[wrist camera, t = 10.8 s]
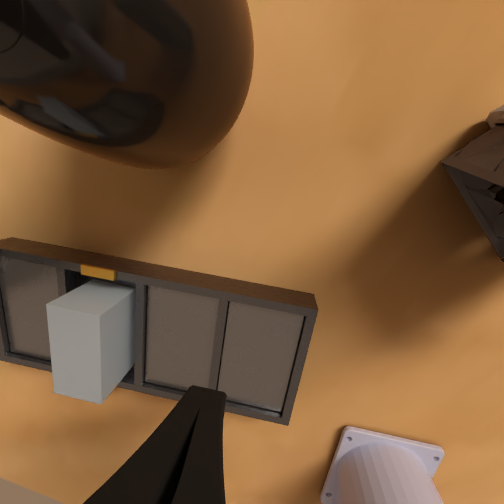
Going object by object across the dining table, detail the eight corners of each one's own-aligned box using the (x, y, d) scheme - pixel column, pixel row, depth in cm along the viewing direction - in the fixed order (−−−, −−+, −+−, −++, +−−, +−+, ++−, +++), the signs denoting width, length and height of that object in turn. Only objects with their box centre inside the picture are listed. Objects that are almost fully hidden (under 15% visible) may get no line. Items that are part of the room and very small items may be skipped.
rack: (287, 400, 21) (288, 428, 19) (27, 343, 23) (-3, 362, 20) (314, 293, 18) (318, 310, 16) (12, 236, 20) (-25, 244, 17)
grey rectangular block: (134, 363, 21) (101, 404, 17) (95, 354, 21) (54, 392, 17) (136, 288, 19) (99, 315, 15) (93, 279, 19) (46, 304, 15)
